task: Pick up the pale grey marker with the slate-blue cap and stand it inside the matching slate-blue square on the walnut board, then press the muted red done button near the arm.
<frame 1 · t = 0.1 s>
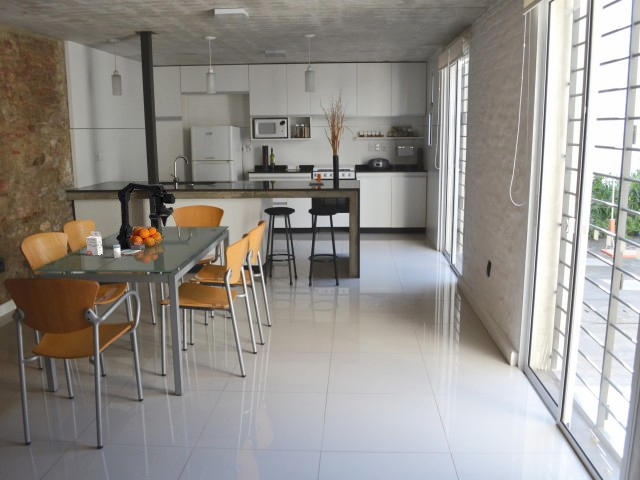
hand: (161, 227, 394), 15 cm above the table, tool pointing down, fingers open, 9 cm apart
done button: (137, 244, 397), point 4 cm above the table, slide at 0.0 cm
picture board: (128, 253, 387), on the table
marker: (117, 257, 375), on the table
button housing: (138, 249, 398), on the table
ink cartridge box: (95, 255, 386), on the table
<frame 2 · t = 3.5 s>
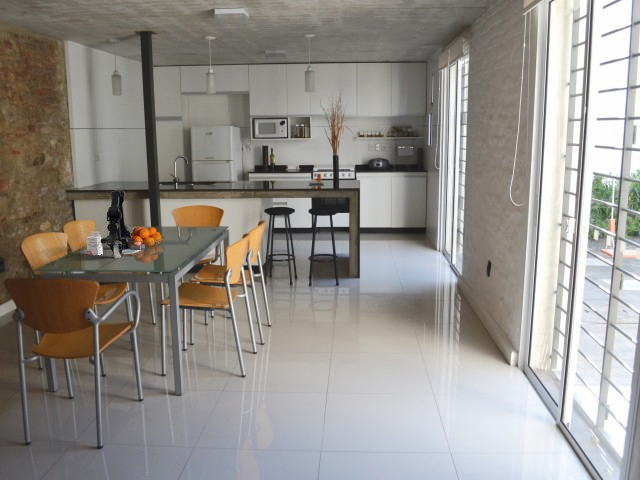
hand: (117, 254, 375), 2 cm above the table, tool pointing down, fingers closed on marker, 4 cm apart
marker: (117, 257, 375), on the table, touching gripper
everything else where it was.
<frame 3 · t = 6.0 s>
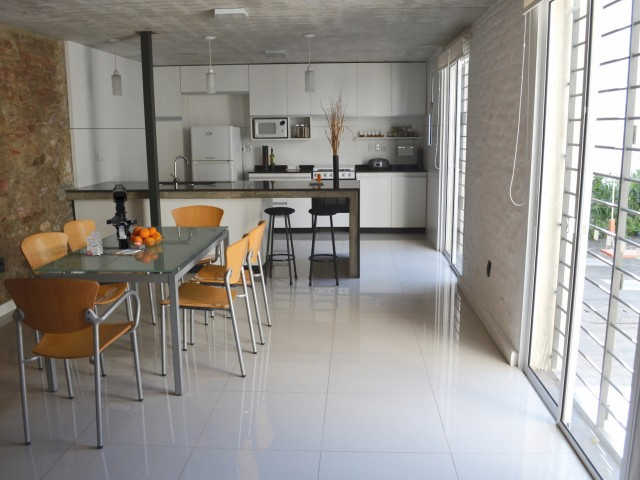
hand: (122, 235, 381), 13 cm above the table, tool pointing down, fingers closed on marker, 4 cm apart
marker: (123, 238, 381), point 11 cm above the table, touching gripper
everything else where it was.
when the fingers open (5 cm above the table, at t = 8.8 s): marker drops 1 cm, resting on picture board.
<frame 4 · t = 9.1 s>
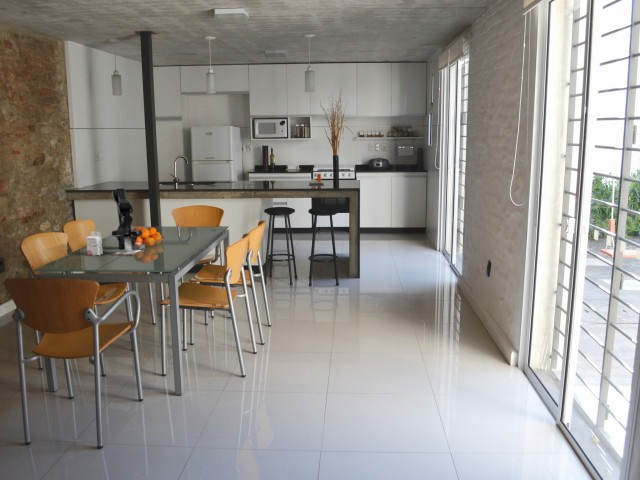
hand: (128, 246, 386), 5 cm above the table, tool pointing down, fingers open, 7 cm apart
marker: (128, 251, 387), point 1 cm above the table, touching picture board
everything else where it was.
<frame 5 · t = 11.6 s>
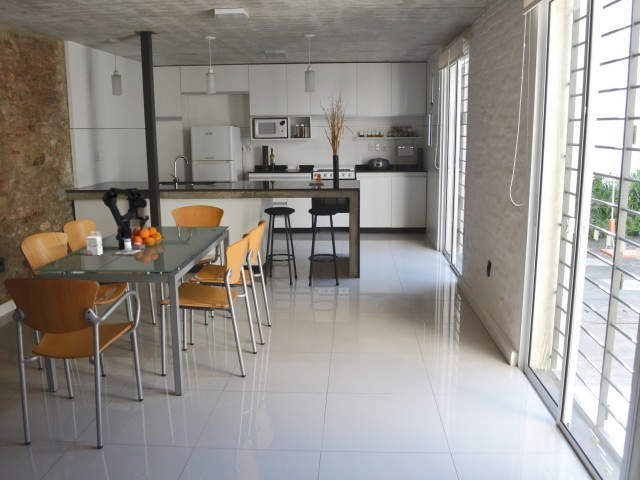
hand: (135, 230, 394), 13 cm above the table, tool pointing down, fingers open, 9 cm apart
nothing on the table moved.
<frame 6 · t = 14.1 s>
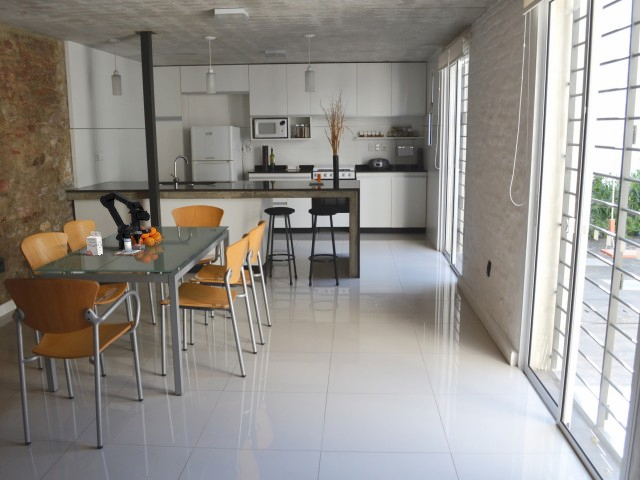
hand: (137, 243, 397), 4 cm above the table, tool pointing down, fingers closed, pressing on done button
done button: (137, 245, 398), point 3 cm above the table, slide at 1.0 cm, touching gripper
everything else where it was.
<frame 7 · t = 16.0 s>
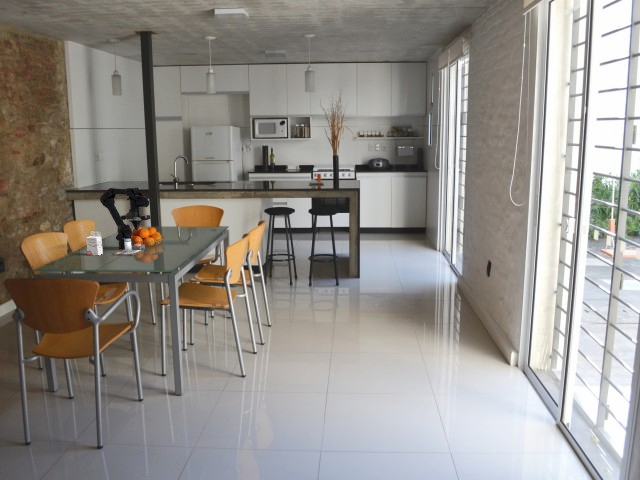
hand: (136, 230, 396), 13 cm above the table, tool pointing down, fingers closed
done button: (137, 246, 398), point 2 cm above the table, slide at 1.1 cm, touching button housing
everything else where it was.
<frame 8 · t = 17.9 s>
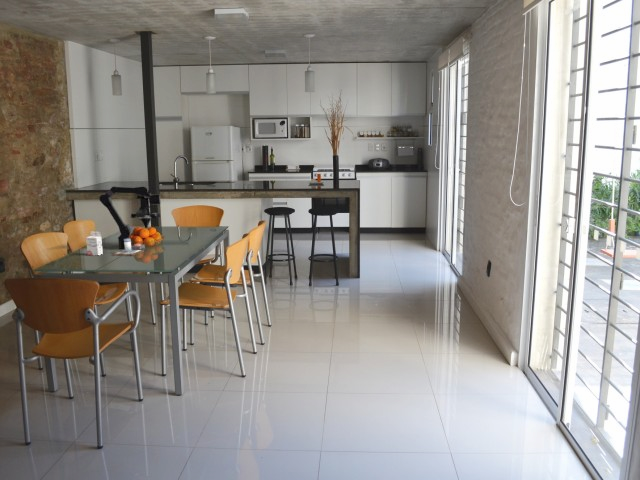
hand: (146, 228, 404), 13 cm above the table, tool pointing down, fingers closed
nothing on the table moved.
at the end: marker 0.0 cm off-centre on the picture board, point 1.4 cm above the picture board's base; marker tilted 2°; done button slide at 1.1 cm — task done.
